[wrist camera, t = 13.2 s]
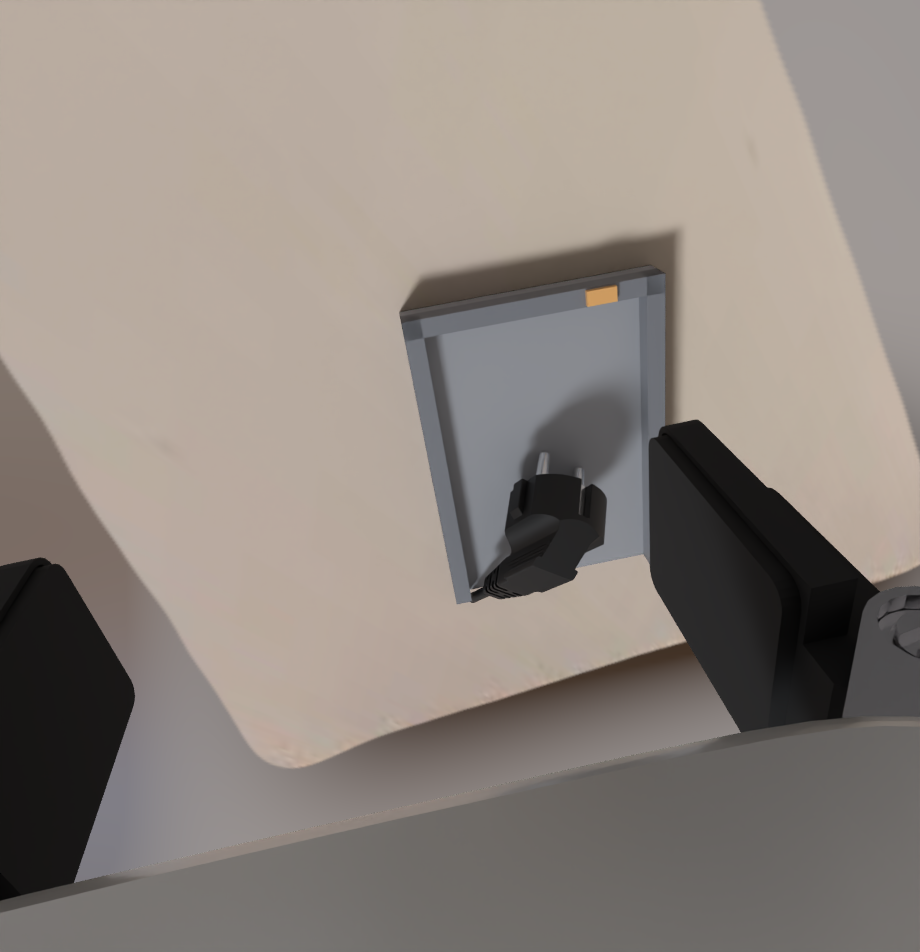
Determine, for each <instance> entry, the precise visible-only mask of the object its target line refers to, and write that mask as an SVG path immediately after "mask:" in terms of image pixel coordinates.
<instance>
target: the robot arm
mask: <svg viewBox="0 0 920 952" xmlns="http://www.w3.org/2000/svg"><path fill="white" fill-rule="evenodd" d="M648 451H649V529H650V572H651V577H652V581H653V584H654V586H655V588H656V590H657V592H658V594H659V595H660V597H661V599H662V601H663V602H664V604H665V606H666V607H667V609H668V611H669V612H670V614H671V616H672V617H673V619H674V621H675V622H676V624H677V626H678V627H679V629H680V631H681V632H682V634H683V636H684V637H685V639H686V641H687V643H688V644H689V646H690V647H691V649H692V651H693V652H694V654H695V656H696V658H697V659H698V661H699V663H700V664H701V666H702V668H703V669H704V671H705V673H706V674H707V676H708V678H709V679H710V681H711V683H712V684H713V686H714V688H715V689H716V691H717V693H718V695H719V696H720V698H721V700H722V701H723V703H724V705H725V706H726V708H727V710H728V711H729V713H730V715H731V716H732V718H733V720H734V721H735V723H736V725H737V726H738V728H739V730H740V732H741V733H738V734H733V735H728V736H723V737H719V738H713V739H709V740H704V741H699V742H694V743H689V744H684V745H679V746H675V747H670V748H665V749H660V750H655V751H651V752H646V753H641V754H636V755H631V756H627V757H623V758H618V759H614V760H609V761H604V762H600V763H596V764H591V765H586V766H582V767H577V768H573V769H568V770H564V771H560V772H555V773H551V774H546V775H542V776H537V777H533V778H529V779H524V780H520V781H515V782H511V783H506V784H501V785H497V786H492V787H488V788H483V789H479V790H475V791H470V792H466V793H461V794H457V795H452V796H448V797H444V798H439V799H435V800H430V801H426V802H421V803H418V804H413V805H408V806H404V807H400V808H395V809H391V810H386V811H382V812H378V813H374V814H369V815H365V816H360V817H356V818H351V819H347V820H343V821H339V822H334V823H330V824H326V825H321V826H317V827H312V828H308V829H304V830H299V831H295V832H290V833H286V834H282V835H278V836H273V837H269V838H265V839H260V840H256V841H252V842H247V843H243V844H238V845H234V846H230V847H225V848H221V849H217V850H213V851H208V852H204V853H200V854H195V855H192V856H187V857H183V858H178V859H174V860H170V861H166V862H161V863H157V864H153V865H149V866H144V867H140V868H136V869H132V870H128V871H123V872H119V873H115V874H110V875H106V876H102V877H98V878H94V879H89V880H85V881H81V882H76V883H74V880H75V877H76V875H77V872H78V869H79V866H80V863H81V859H82V857H83V854H84V851H85V848H86V845H87V842H88V839H89V836H90V833H91V830H92V827H93V824H94V821H95V818H96V815H97V812H98V809H99V806H100V804H101V801H102V797H103V795H104V792H105V789H106V786H107V782H108V780H109V777H110V774H111V771H112V768H113V765H114V762H115V759H116V756H117V753H118V750H119V747H120V744H121V741H122V738H123V735H124V732H125V729H126V726H127V723H128V720H129V717H130V715H131V712H132V708H133V705H134V700H135V693H134V687H133V684H132V682H131V679H130V678H129V676H128V674H127V673H126V671H125V669H124V668H123V666H122V664H121V663H120V661H119V659H118V658H117V656H116V654H115V653H114V651H113V649H112V648H111V646H110V644H109V643H108V641H107V639H106V638H105V636H104V634H103V633H102V631H101V629H100V628H99V626H98V624H97V623H96V621H95V620H94V618H93V616H92V614H91V613H90V611H89V609H88V608H87V606H86V604H85V603H84V601H83V599H82V598H81V596H80V594H79V593H78V591H77V589H76V588H75V586H74V584H73V583H72V581H71V579H70V578H69V576H68V575H67V573H66V571H65V570H64V568H63V567H61V566H60V565H58V564H51V563H50V562H49V561H48V560H46V559H45V558H35V559H31V560H27V561H21V562H16V563H12V564H7V565H3V566H0V952H920V587H918V586H910V587H895V588H892V589H889V590H885V591H882V592H880V591H879V590H877V588H875V587H874V586H873V585H872V584H871V583H870V582H869V581H868V580H867V579H866V578H865V577H864V576H863V575H862V574H861V573H860V572H859V571H858V570H857V569H856V568H855V567H854V566H853V565H852V564H851V563H850V562H849V561H848V560H847V559H846V558H845V557H844V556H843V555H842V554H841V553H840V552H839V551H838V550H837V549H836V548H835V547H834V546H833V545H832V544H831V543H829V542H828V541H827V540H826V539H825V538H824V537H823V536H822V535H821V534H820V533H819V532H818V531H817V530H816V529H815V528H814V527H813V526H812V525H811V524H810V523H809V522H808V521H807V520H806V519H805V518H804V517H803V516H802V515H801V514H800V513H799V512H798V511H797V510H796V509H795V508H794V507H793V506H792V505H791V504H790V503H789V502H788V501H787V500H785V499H784V498H783V497H782V496H781V495H780V494H779V493H778V492H777V491H775V490H774V489H772V488H767V487H766V486H765V485H764V484H763V483H762V482H761V481H760V480H759V479H758V478H757V477H756V476H755V475H754V474H753V473H752V472H751V471H750V470H749V469H748V468H747V467H746V466H745V465H744V464H743V463H742V462H741V461H740V460H739V459H738V458H737V457H736V456H735V455H734V454H733V453H732V452H731V451H730V450H729V449H728V448H727V447H726V446H725V445H724V444H723V443H722V442H721V441H720V440H719V439H718V438H717V437H716V436H715V435H714V434H713V433H712V432H711V431H710V430H709V429H708V428H707V427H706V426H705V425H704V424H703V423H702V422H700V421H699V420H691V421H687V422H682V423H677V424H672V425H668V426H663V427H661V428H660V430H659V434H658V437H654V438H651V439H650V441H649V448H648Z"/></svg>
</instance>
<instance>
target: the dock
mask: <svg viewBox="0 0 920 952" xmlns="http://www.w3.org/2000/svg"><path fill="white" fill-rule="evenodd" d="M399 314H400V319H401V324H402V329H403V334H404V339H405V344H406V349H407V354H408V359H409V364H410V369H411V374H412V379H413V385H414V390H415V395H416V400H417V405H418V410H419V415H420V420H421V425H422V430H423V435H424V440H425V445H426V450H427V455H428V460H429V465H430V471H431V476H432V481H433V486H434V491H435V496H436V501H437V506H438V511H439V516H440V521H441V526H442V531H443V536H444V541H445V546H446V551H447V557H448V562H449V567H450V572H451V577H452V582H453V587H454V592H455V597H456V602H457V604H461V603H466V602H471V601H472V599H471V593H470V589H475V588H480V587H483V586H484V580H485V578H486V577H487V576H488V575H489V574H490V573H491V572H492V571H493V570H494V569H495V568H496V567H497V566H498V565H499V564H500V563H501V562H502V561H503V560H504V559H505V558H506V557H508V556H510V554H511V547H510V544H509V542H508V540H507V538H506V535H505V525H506V518H507V512H508V505H509V499H510V492H511V491H513V487H514V484H515V483H516V482H518V481H519V480H521V479H525V480H527V481H528V480H529V479H531V478H532V477H534V476H535V475H536V469H537V461H538V455H539V453H540V452H541V451H543V450H546V451H548V452H550V454H551V461H550V469H549V474H563V475H569V476H572V474H573V469H574V468H575V467H576V466H582V467H583V468H584V469H585V481H584V486H586V487H587V486H589V485H591V484H594V485H595V486H597V487H598V488H600V489H601V490H602V491H603V492H604V494H605V496H606V498H607V510H606V524H605V538H604V545H602V546H599V547H597V548H595V549H593V550H591V551H588V552H586V553H585V554H584V556H583V557H582V559H581V560H580V562H579V564H578V565H577V567H576V568H578V567H583V566H588V565H592V564H597V563H602V562H607V561H612V560H617V559H622V558H627V557H631V556H636V555H641V554H644V556H645V557H646V559H647V561H648V562H649V564H650V529H649V451H648V448H649V441H650V439H651V438H654V437H658V434H659V430H660V428H661V427H663V426H665V273H664V272H662V271H660V270H659V269H657V268H655V267H653V266H652V265H649V266H644V267H639V268H633V269H628V270H623V271H617V272H612V273H607V274H601V275H596V276H590V277H585V278H580V279H574V280H569V281H564V282H558V283H553V284H548V285H542V286H537V287H532V288H526V289H521V290H516V291H510V292H505V293H500V294H494V295H489V296H483V297H478V298H473V299H467V300H462V301H457V302H451V303H446V304H441V305H435V306H430V307H425V308H419V309H414V310H409V311H403V312H399Z"/></svg>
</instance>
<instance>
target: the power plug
mask: <svg viewBox="0 0 920 952" xmlns="http://www.w3.org/2000/svg"><path fill="white" fill-rule="evenodd" d="M550 461H551V454H550V452H548V451H546V450H543V451H541V452H540V453H539V455H538V461H537V469H536V475H535V476H534V477H532V478H531V479H529V480H528V481H527V480H525V479H521V480H519V481H518V482H516V483H515V484H514V487H513V491H511V492H510V499H509V505H508V512H507V518H506V525H505V535H506V538H507V540H508V542H509V544H510V547H511V554H510V556H508V557H506V558H505V559H504V560H503V561H502V562H501V563H500V564H499V565H498V566H497V567H496V568H495V569H494V570H493V571H492V572H491V573H490V574H489V575H488V576H487V577H486V578H485V580H484V586H483V588H481V589H479V590H476V591H474V592H472V593H471V599H472V601H471V603H475V602H477V601H479V600H481V599H483V598H486V597H488V596H492V597H494V598H497V599H505V598H511V597H517V596H518V597H519V596H522V595H523V596H525V595H529V594H531V593H533V592H541V593H542V592H545V591H547V590H550V589H552V588H554V587H557V586H559V585H562V584H564V583H567V582H569V581H571V580H573V579H574V578H575V576H576V575H577V573H578V571H576V570H575V569H576V567H577V565H578V564H579V562H580V560H581V559H582V557H583V556H584V554H585V553H586V552H588V551H591V550H593V549H595V548H597V547H599V546H602V545H604V538H605V524H606V510H607V498H606V496H605V494H604V492H603V491H602V490H601V489H600V488H598V487H597V486H595V485H594V484H591V485H589V486H587V487H586V486H584V481H585V469H584V468H583V467H582V466H576V467H575V468H574V469H573V474H572V476H569V475H563V474H549V469H550Z"/></svg>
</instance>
